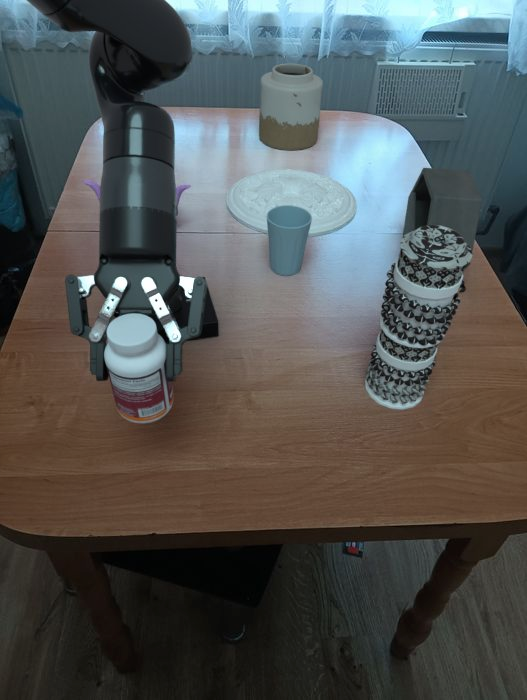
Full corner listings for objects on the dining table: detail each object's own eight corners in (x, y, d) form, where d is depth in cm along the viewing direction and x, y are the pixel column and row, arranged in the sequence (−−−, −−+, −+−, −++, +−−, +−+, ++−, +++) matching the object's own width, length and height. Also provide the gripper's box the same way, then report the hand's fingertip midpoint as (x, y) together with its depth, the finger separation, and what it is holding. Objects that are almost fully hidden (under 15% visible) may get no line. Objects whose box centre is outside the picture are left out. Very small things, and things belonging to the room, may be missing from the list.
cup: (256, 262, 99) (258, 211, 92) (290, 251, 102) (294, 201, 95) (279, 284, 95) (283, 232, 87) (314, 271, 98) (320, 220, 91)
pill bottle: (137, 375, 62) (123, 300, 54) (184, 393, 60) (177, 318, 52) (104, 414, 58) (84, 338, 50) (154, 434, 56) (141, 358, 48)
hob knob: (146, 316, 82) (142, 288, 79) (145, 294, 86) (141, 266, 83) (183, 313, 83) (181, 285, 79) (180, 291, 87) (178, 264, 83)
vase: (257, 149, 135) (259, 77, 124) (260, 125, 147) (262, 58, 135) (318, 152, 135) (325, 81, 124) (316, 128, 147) (323, 61, 135)
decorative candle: (382, 355, 82) (420, 207, 65) (437, 385, 78) (494, 234, 61) (349, 389, 77) (382, 237, 60) (407, 422, 73) (460, 269, 56)
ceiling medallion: (224, 236, 105) (224, 222, 103) (227, 172, 126) (227, 158, 123) (366, 238, 107) (369, 224, 104) (346, 174, 127) (348, 161, 125)
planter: (401, 210, 106) (432, 147, 86) (440, 213, 105) (481, 151, 85) (399, 292, 102) (432, 246, 82) (440, 295, 102) (483, 250, 81)
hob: (120, 350, 81) (117, 334, 79) (115, 301, 89) (112, 286, 87) (218, 336, 84) (218, 321, 82) (205, 290, 92) (204, 275, 90)
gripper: (53, 201, 50) (50, 382, 50) (208, 204, 51) (207, 383, 50) (77, 222, 57) (75, 379, 57) (212, 224, 58) (211, 380, 58)
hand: (137, 380), depth 54 cm, fingers closed on pill bottle, 6 cm apart
